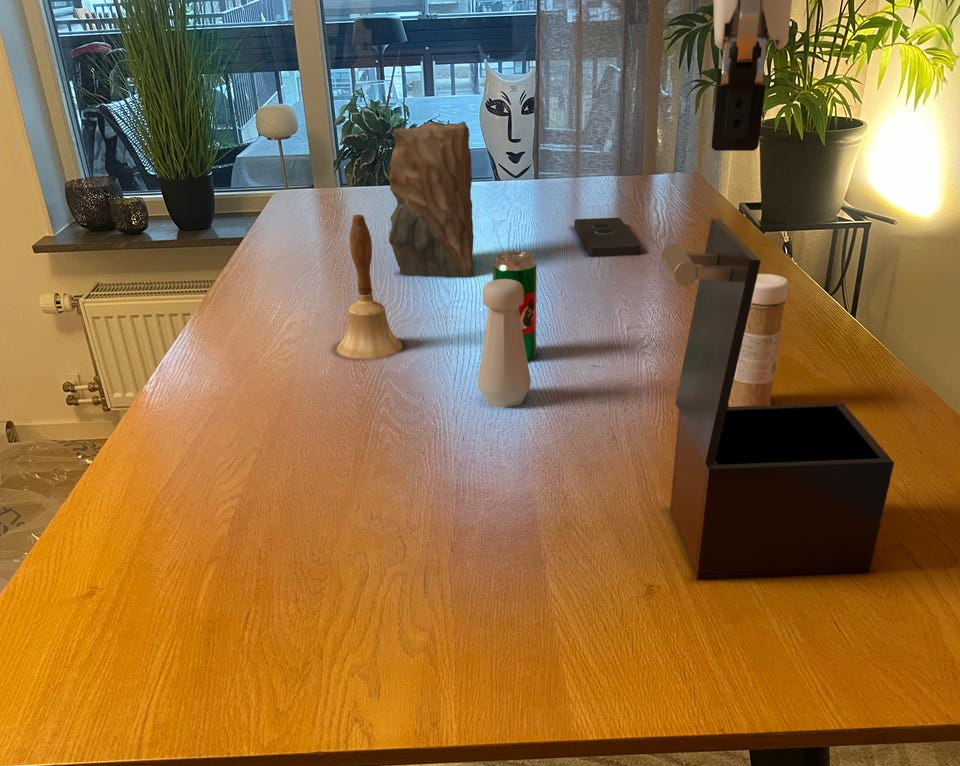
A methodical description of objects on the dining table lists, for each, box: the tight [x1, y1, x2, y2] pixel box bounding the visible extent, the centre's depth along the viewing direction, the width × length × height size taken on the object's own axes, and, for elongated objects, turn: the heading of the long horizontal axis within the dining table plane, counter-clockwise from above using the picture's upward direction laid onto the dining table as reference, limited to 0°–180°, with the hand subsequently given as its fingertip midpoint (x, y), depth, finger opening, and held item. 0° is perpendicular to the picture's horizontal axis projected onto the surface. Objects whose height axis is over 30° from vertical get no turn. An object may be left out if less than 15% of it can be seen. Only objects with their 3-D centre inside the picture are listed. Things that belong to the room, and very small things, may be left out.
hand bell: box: [336, 214, 403, 360], centre depth 121 cm, size 8×8×16 cm
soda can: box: [492, 250, 538, 361], centre depth 118 cm, size 5×5×12 cm
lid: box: [660, 218, 762, 464], centre depth 73 cm, size 14×12×5 cm
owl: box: [388, 120, 474, 278], centre depth 150 cm, size 13×13×20 cm
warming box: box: [669, 402, 895, 581], centre depth 81 cm, size 14×12×10 cm
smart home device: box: [573, 217, 640, 258], centre depth 166 cm, size 8×2×20 cm
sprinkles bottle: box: [728, 273, 789, 407], centre depth 104 cm, size 5×5×13 cm
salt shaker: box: [477, 279, 532, 409], centre depth 107 cm, size 6×6×13 cm
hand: (734, 138), depth 74 cm, fingers open, 9 cm apart
